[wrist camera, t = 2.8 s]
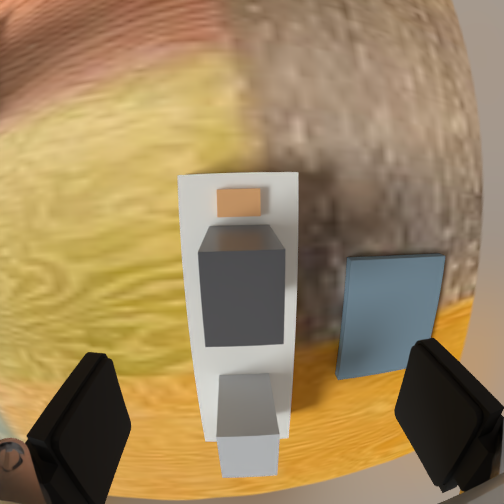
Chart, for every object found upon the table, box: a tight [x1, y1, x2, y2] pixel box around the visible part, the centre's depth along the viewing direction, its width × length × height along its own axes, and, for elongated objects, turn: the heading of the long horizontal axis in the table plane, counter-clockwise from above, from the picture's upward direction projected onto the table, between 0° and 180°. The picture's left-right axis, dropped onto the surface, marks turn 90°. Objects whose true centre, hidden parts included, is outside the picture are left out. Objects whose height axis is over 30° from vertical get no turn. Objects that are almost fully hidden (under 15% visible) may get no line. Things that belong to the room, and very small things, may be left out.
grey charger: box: [216, 373, 280, 478], centre depth 22 cm, size 5×4×8 cm
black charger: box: [198, 224, 285, 347], centre depth 19 cm, size 5×4×8 cm
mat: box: [335, 253, 445, 380], centre depth 27 cm, size 12×10×1 cm
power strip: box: [178, 172, 298, 442], centre depth 25 cm, size 24×8×4 cm, turn 1°
